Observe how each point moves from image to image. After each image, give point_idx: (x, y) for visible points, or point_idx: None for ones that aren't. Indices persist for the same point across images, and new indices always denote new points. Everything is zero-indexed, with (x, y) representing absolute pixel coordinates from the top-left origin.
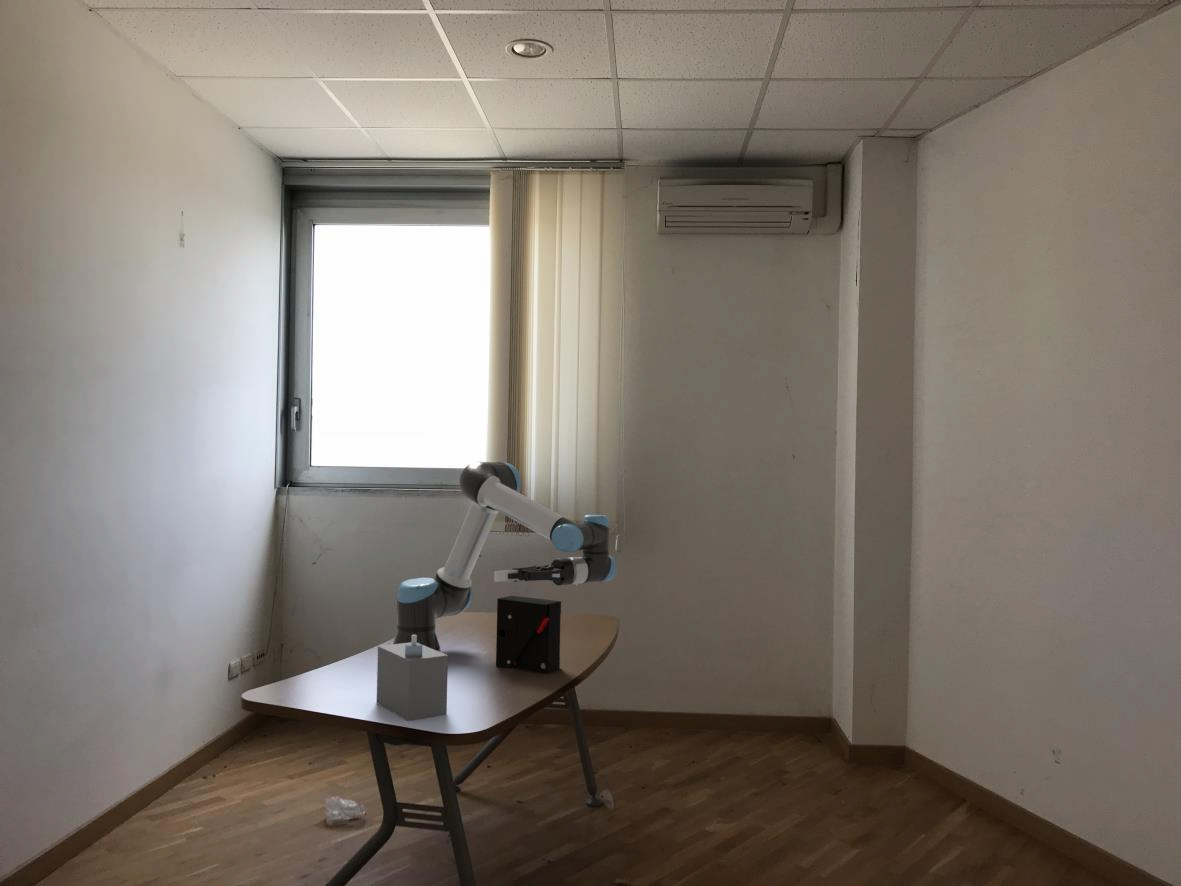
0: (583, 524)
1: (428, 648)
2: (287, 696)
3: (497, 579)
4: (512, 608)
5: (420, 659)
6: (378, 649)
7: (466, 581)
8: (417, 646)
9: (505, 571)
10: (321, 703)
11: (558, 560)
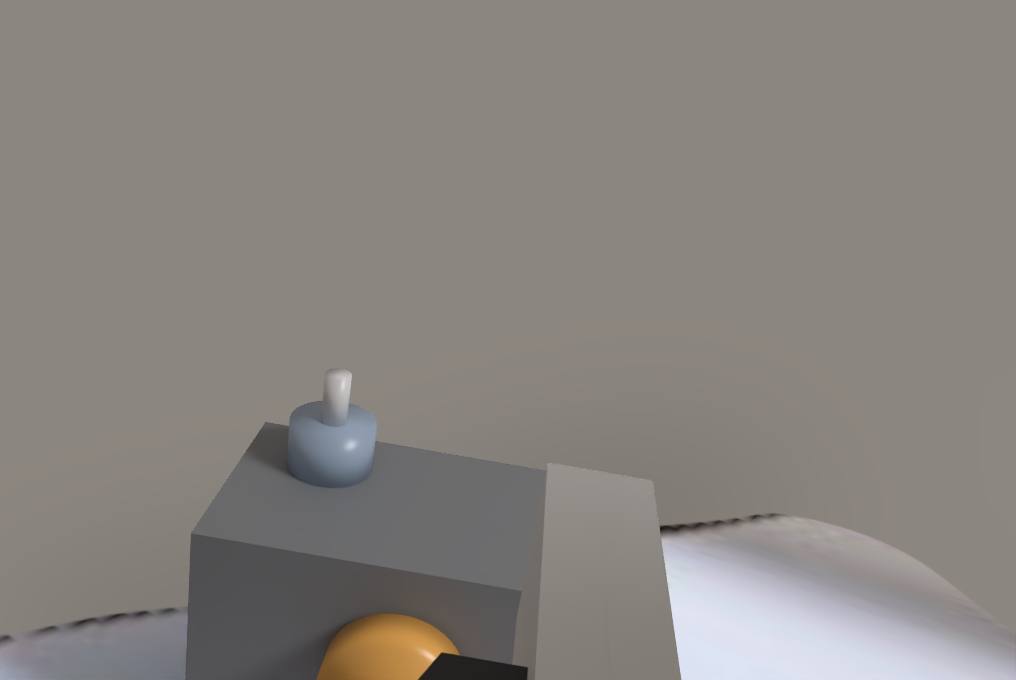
0: None
1: (415, 563)
2: (810, 576)
3: (524, 592)
4: None
5: (247, 451)
6: None
7: None
8: (301, 417)
9: (542, 583)
10: (669, 592)
11: None
